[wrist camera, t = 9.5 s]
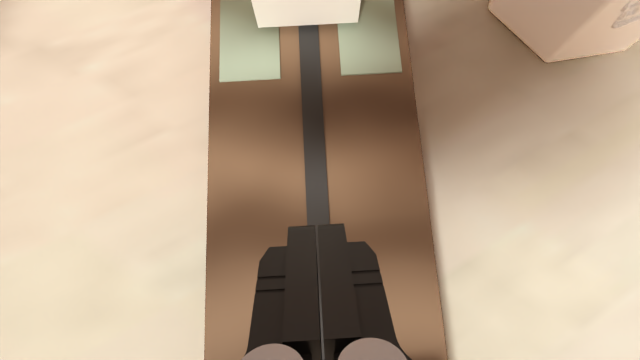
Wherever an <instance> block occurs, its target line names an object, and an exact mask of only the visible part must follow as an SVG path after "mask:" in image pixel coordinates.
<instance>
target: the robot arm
mask: <svg viewBox="0 0 640 360" xmlns="http://www.w3.org/2000/svg"><path fill="white" fill-rule="evenodd" d="M317 228H318V246H319V265H320V283H321V302H322V320H323V338H324V355H325V360H412V359H411V358H410V357H409V356H408V355H407V354H406V353H405V352H404V351H403V350H402V348H401V347H400V345H399V343H398V341H397V338H396V334H395V330H394V326H393V322H392V318H391V314H390V310H389V305H388V301H387V297H386V293H385V289H384V286H383V281H382V276H381V273H380V268H379V264H378V260H377V256H376V253H375V252H374V251H373V250H372V249H371V248H370V246H369V245H368V244H367V243H366V242H365V241H360V242H347V239H346V232H345V226H344V223H340V224H323V225H317ZM241 360H322V345H321V324H320V304H319V283H318V266H317V250H316V234H315V225H308V226H291V227H288V236H287V246H277V247H269V248H268V249H267V251H266V252H265V254H264V255H263V257H262V258H261V259H260V261H259V267H258V275H257V282H256V289H255V296H254V304H253V311H252V318H251V326H250V333H249V340H248V347H247V351H246V354H245V356H244V357H243V358H242V359H241Z"/></svg>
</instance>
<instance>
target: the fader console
mask: <svg viewBox="0 0 640 360" xmlns="http://www.w3.org/2000/svg"><path fill="white" fill-rule="evenodd" d="M340 223H344V226H345V232H346V239H347V242H360V241H365V242H366V243H367V244H368V245H369V246H370V248H371V249H372V250H373V251H374V252H375V253H376V256H377V260H378V264H379V268H380V273H381V276H382V281H383V286H384V289H385V293H386V297H387V301H388V305H389V310H390V314H391V318H392V322H393V326H394V330H395V334H396V338H397V341H398V343H399V345H400V347H401V348H402V350H403V351H404V352H405V353H406V354H407V355H408V356H409V357H410V358H411V359H412V360H447V352H446V344H445V336H444V327H443V319H442V311H441V303H440V295H439V287H438V279H437V271H436V263H435V255H434V247H433V239H432V230H431V222H430V214H429V206H428V198H427V190H426V182H425V174H424V166H423V158H422V150H421V141H420V133H419V125H418V117H417V109H416V101H415V93H414V85H413V77H412V69H411V61H410V52H409V44H408V36H407V28H406V20H405V12H404V4H403V0H361V3H360V10H359V18H358V23H339V24H320V25H301V26H282V27H263V28H258V25H257V21H256V17H255V13H254V9H253V6H252V2H251V0H211V42H210V93H209V145H208V196H207V247H206V299H205V350H204V360H241V359H242V358H243V357H244V356H245V354H246V351H247V347H248V340H249V333H250V326H251V318H252V311H253V304H254V296H255V289H256V282H257V275H258V267H259V261H260V259H261V258H262V257H263V255H264V254H265V252H266V251H267V249H268V248H269V247H277V246H287V236H288V227H291V226H308V225H315V234H316V250H317V266H318V283H319V304H320V324H321V345H322V360H325V355H324V338H323V320H322V302H321V283H320V265H319V246H318V228H317V225H323V224H340Z"/></svg>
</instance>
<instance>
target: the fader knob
mask: <svg viewBox="0 0 640 360" xmlns="http://www.w3.org/2000/svg"><path fill="white" fill-rule="evenodd" d="M251 2H252V6H253V9H254V13H255V17H256V21H257V25H258V28H263V27H282V26H301V25H320V24H339V23H358V18H359V10H360V3H361V0H251Z"/></svg>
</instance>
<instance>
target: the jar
mask: <svg viewBox="0 0 640 360" xmlns="http://www.w3.org/2000/svg"><path fill="white" fill-rule="evenodd" d="M488 9H489V11H490V12H491V13H492V14H494V15H495V16H496V17H497V18H498V19H499V20H500V21H501V22H502V23H503V24H504V25H505V26H507V27H508V28H509V29H510V30H511V31H512V32H513V33H514V34H515V35H516V36H517V37H518V38H520V39H521V40H522V41H523V42H524V43H525V44H526V45H527V46H528V47H529V48H530V49H531V50H532V51H534V52H535V53H536V54H537V55H538V56H539V57H540V58H541V59H542V60H543V61H545V62H548V63H549V62H556V61H562V60H569V59H575V58H582V57H588V56H595V55H601V54H608V53H614V52H621V51H625V50H627V49H628V48H629V47H631V46H632V45H633V44H635V43H636V42H637V41H638V40H640V0H490V2H489V5H488Z"/></svg>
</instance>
